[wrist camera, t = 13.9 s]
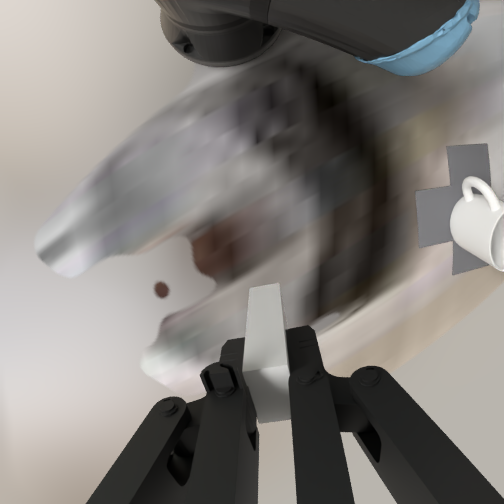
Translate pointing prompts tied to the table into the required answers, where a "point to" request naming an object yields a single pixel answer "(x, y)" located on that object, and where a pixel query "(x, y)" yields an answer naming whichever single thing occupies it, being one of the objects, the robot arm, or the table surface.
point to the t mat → (452, 202)
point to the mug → (479, 223)
